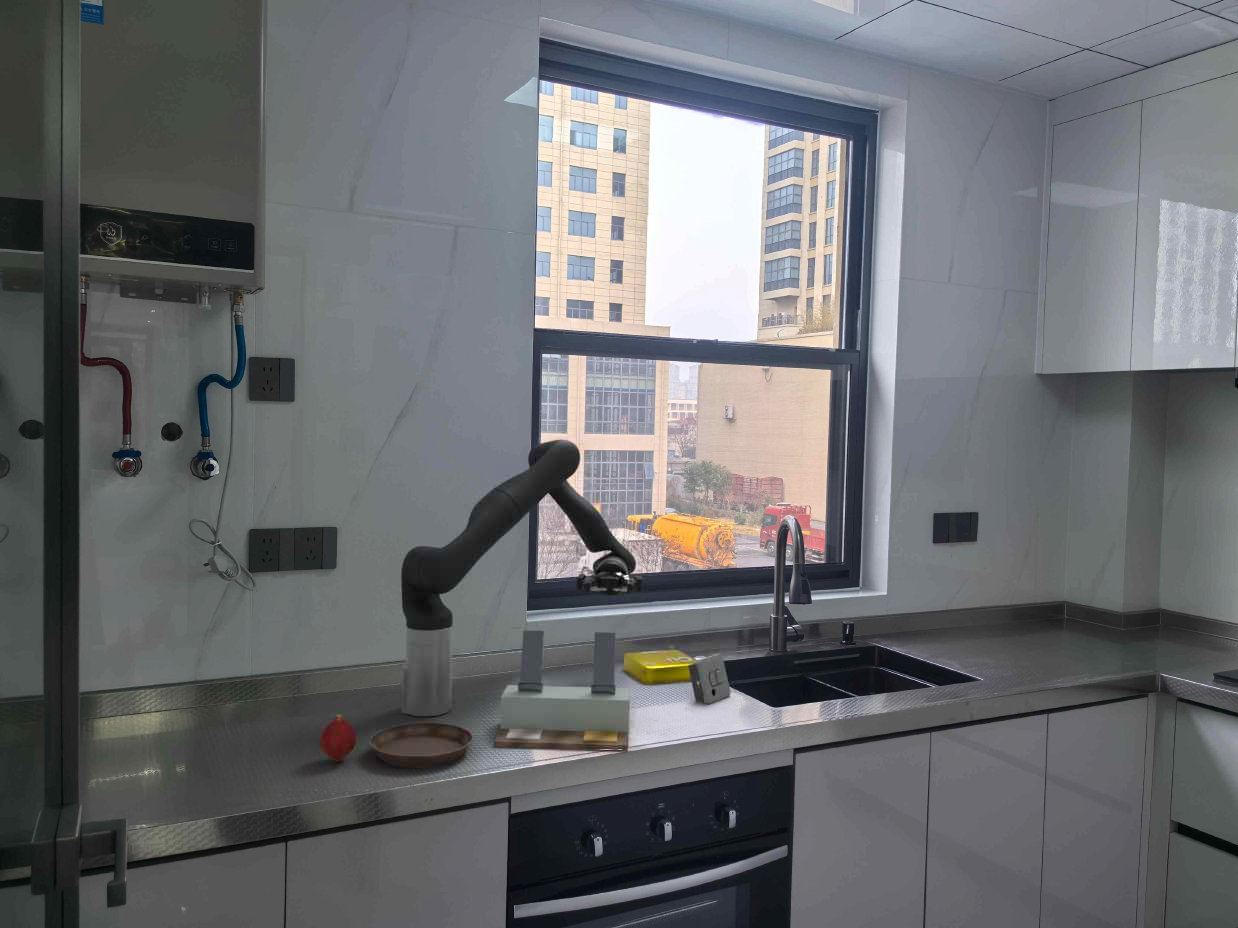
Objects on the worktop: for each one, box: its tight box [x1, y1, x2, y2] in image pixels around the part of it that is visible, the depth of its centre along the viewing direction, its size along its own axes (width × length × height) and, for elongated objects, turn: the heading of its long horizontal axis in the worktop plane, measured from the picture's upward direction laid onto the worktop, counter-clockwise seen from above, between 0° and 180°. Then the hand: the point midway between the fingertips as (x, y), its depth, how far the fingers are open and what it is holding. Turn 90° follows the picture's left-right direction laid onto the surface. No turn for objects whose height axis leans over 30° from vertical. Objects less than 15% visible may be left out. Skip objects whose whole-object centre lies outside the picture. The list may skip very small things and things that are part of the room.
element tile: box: [623, 649, 698, 685], centre depth 205 cm, size 15×15×5 cm
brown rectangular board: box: [493, 728, 630, 750], centre depth 161 cm, size 24×16×1 cm, turn 88°
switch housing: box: [500, 684, 631, 732], centre depth 164 cm, size 24×8×6 cm, turn 88°
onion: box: [319, 714, 357, 763], centre depth 145 cm, size 6×6×8 cm
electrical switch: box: [688, 653, 731, 705], centre depth 186 cm, size 9×5×9 cm, turn 141°
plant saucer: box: [368, 722, 474, 769], centre depth 149 cm, size 18×18×3 cm
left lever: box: [518, 629, 545, 691], centre depth 165 cm, size 5×2×11 cm, turn 88°
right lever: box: [590, 631, 617, 693], centre depth 165 cm, size 5×2×11 cm, turn 88°
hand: (608, 587), depth 178 cm, fingers open, 8 cm apart
